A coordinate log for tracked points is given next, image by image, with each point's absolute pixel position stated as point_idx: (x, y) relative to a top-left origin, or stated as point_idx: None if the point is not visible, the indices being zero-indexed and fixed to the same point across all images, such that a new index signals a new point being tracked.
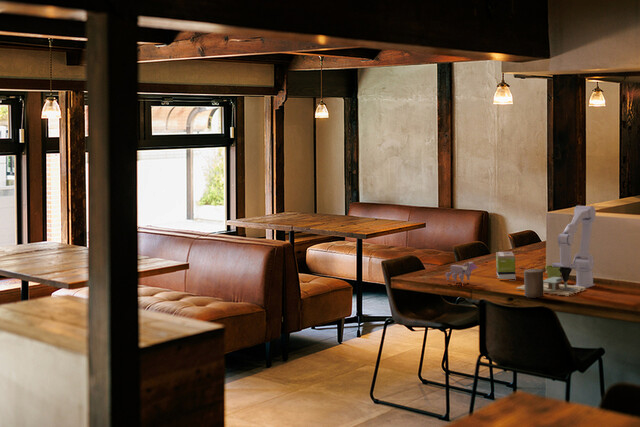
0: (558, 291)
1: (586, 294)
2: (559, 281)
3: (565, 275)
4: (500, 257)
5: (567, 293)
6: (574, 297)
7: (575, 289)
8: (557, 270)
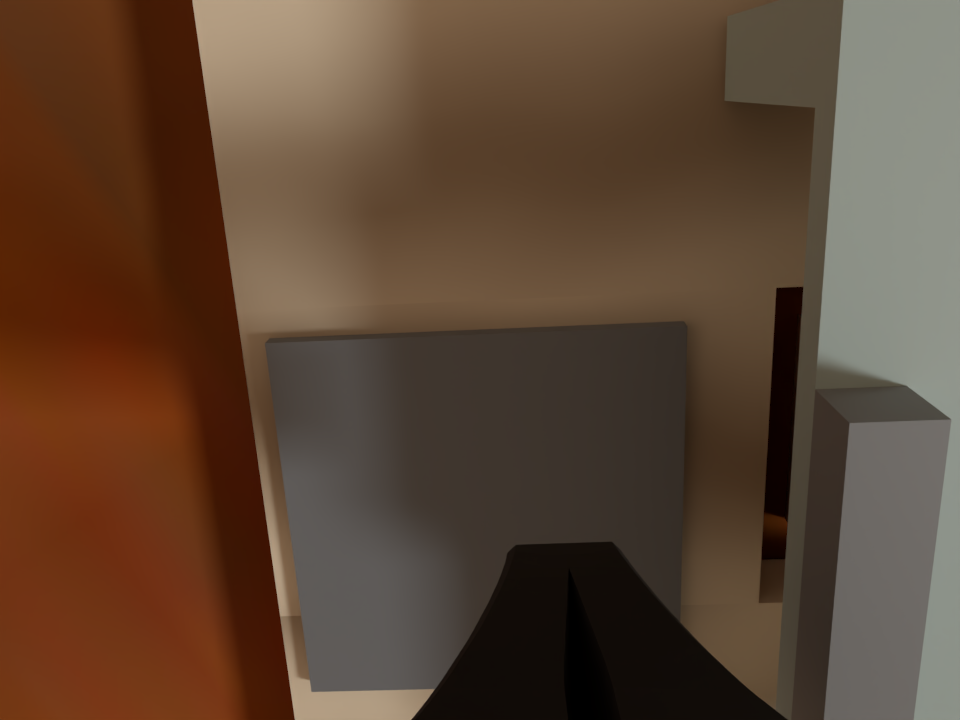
0: (623, 138)
1: (31, 530)
2: (795, 500)
3: (498, 698)
4: None
5: (225, 26)
6: (15, 19)
7: (317, 591)
8: None
